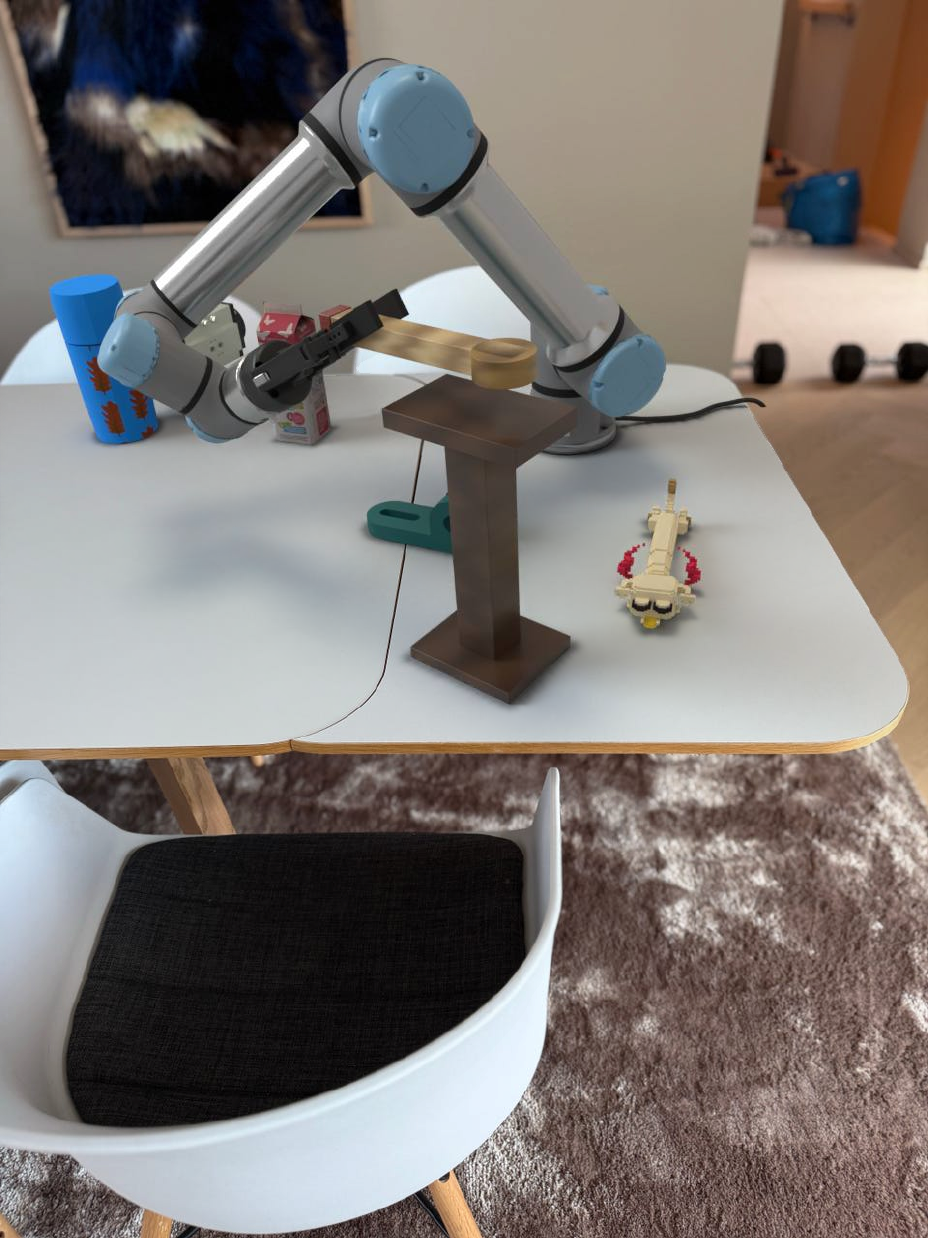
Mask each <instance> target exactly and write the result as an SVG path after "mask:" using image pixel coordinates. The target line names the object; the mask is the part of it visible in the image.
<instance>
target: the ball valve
mask: <svg viewBox="0 0 928 1238" xmlns="http://www.w3.org/2000/svg"><path fill="white" fill-rule="evenodd" d="M246 332H247V327H246V323H245V320H244V318H243V317H242V315H241V313H240V312H239V310H237V309H236V308H234V304H233V302H225V301H223V302H222V303H221V304H220V305H218V306H217V307H216V308H215V309H214V310H213V311H212V312H211V313H210V314H209V315H208V316H207V317H206V318H205V319H204V320H203V321H202V322H201V323H200V324H199V325H198V326H197V327H196V328H195V329H194V330H193V331H192V332H191V333H190V334H189V335H188V336H187V337H186V338H185V339H183V340H182V342H183V343H185V344H186V345H188V346H190V347H191V348H193V349H194V350H196V351H198V352H200V353H201V354H203V355H205V356H207V357H209V358H211V359H212V360H213V361H215V362H217V363H219V364H220V365H222V366H224V367H225V366H227V365H228V364H230V363H231V364H232V363H233V362H235V361H237V360H239V359H240V358H242V357H243V356H245V354H244V350H243V349H246V342H245V337H246V334H247V333H246Z"/></svg>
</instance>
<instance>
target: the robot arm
mask: <svg viewBox="0 0 928 1238" xmlns="http://www.w3.org/2000/svg"><path fill="white" fill-rule="evenodd" d="M490 148H491V147H490V141H489V139H488V137H486V136H485V134H484V132H483V131H482V130H481V129H480V128H479V127H478V125H477V123H475V122H474V117H473V113H472V110H471V109H470V106H469V104H468V102H467V100H466V98H465V97H464V95H463V94H462V92H461V91H460V90H459V89H458V87H457V86H456V85H455V84H454V83H453V82H452V81H451V80H450V79H449V78H448V77H447V76H445V75H444V74H442V73H440V72H439V71H437V70H435V69H432V68H430V67H428V66H425V65H422V64H412V63H407V62H404V61H403V60H399V59H396V58H391V57H373V58H369V59H367V60H365V61H363V62H360V63H358V64H356V65H355V66H354V67H353V68H352V69H350V70H349V71H347V73H345V75H343V76H342V77H341V78H340V80H338V81H337V82H336V84H334V85H333V86H332V87H331V88H330V90H328V92H327V93H326V94H325V95H324V96H323V97H322V98H321V99H320V100H319V101H318V102H317V103H316V104H315V106H314V107H313V108H312V109H310V111H309V112H307V114H305V116H303V117H302V119H300V120H299V122H298V135H297V136H296V137H295V139H293V140H292V142H290V143H289V145H288V146H286V147H285V148H284V149H283V150H282V152H280V153H279V154H278V155H277V156H276V157H275V158H274V159H273V160H272V161H271V162H270V163H269V164H268V165H266V167H265V168H264V169H262V171H260V173H259V174H258V175H257V176H256V177H255V178H254V179H253V180H252V181H251V182H250V183H248V185H247V186H246V187H244V189H243V190H241V191H240V193H238V194H237V195H236V196H235V198H233V199H232V201H230V202H229V203H228V204H227V205H226V206H225V207H224V208H223V209H222V210H221V211H220V212H219V213H218V214H217V215H216V216H215V217H214V218H213V219H212V220H211V221H210V222H209V223H208V224H207V225H206V226H205V227H204V228H203V229H201V231H199V233H198V234H197V235H196V236H195V237H193V239H192V240H190V242H189V243H187V245H186V246H184V247H183V248H182V249H181V251H180V252H178V253H177V254H176V255H175V256H174V257H173V259H171V260H170V261H169V262H168V263H167V264H166V265H165V266H164V267H163V268H162V269H161V270H160V271H159V272H158V273H157V274H156V275H155V276H154V277H153V278H152V280H150V281H149V282H148V283H146V284H145V286H143V287H142V288H141V289H139V290H134V291H130V292H128V293H126V294H125V295H124V297H123V298H122V299H121V300H120V302H119V303H118V305H117V308H116V311H115V315H114V322H113V323H112V325H111V326H110V328H109V330H108V331H107V333H106V335H105V337H104V339H103V342H102V344H101V347H100V350H99V354H98V358H97V362H98V366H99V367H100V369H101V370H102V371H103V372H105V373H106V374H108V375H110V376H111V377H113V378H115V379H116V380H118V381H119V382H120V383H121V384H123V385H124V386H127V387H131V388H133V389H135V390H137V391H139V392H141V393H143V394H145V395H147V396H149V397H151V398H153V400H155V401H156V402H158V403H161V404H162V405H164V406H166V407H168V408H170V409H172V410H174V411H176V412H177V413H180V414H181V415H182V416H184V417H185V420H186V423H187V426H188V427H189V428H190V429H191V430H192V432H193V433H194V434H195V435H196V436H197V437H198V438H199V439H201V440H202V441H205V442H207V443H211V444H223V443H227V442H229V441H233V440H237V439H241V438H242V437H244V436H245V435H246V434H248V433H249V432H251V430H253V429H254V428H256V427H258V426H259V425H262V424H264V423H266V422H268V421H269V422H270V423H271V424H274V423H275V422H277V421H278V419H277V416H276V415H278V414H280V413H282V412H283V411H286V410H288V409H290V408H292V407H294V406H296V405H297V404H299V403H301V402H302V401H304V400H305V399H306V398H307V396H308V395H309V393H310V391H311V388H312V382H313V377H315V376H317V375H318V374H320V373H322V372H324V369H326V368H328V367H329V366H332V365H333V364H335V363H336V362H337V361H339V360H340V359H342V358H343V357H345V356H347V353H349V352H350V351H352V350H354V349H355V348H356V347H355V346H352V345H353V344H355V343H357V342H358V341H360V340H362V339H363V338H365V337H367V336H368V335H370V334H372V333H373V332H375V331H377V330H378V329H380V328H382V327H384V325H383V323H382V321H381V319H380V317H379V315H383V316H387V317H392V318H396V319H401V320H404V319H405V318H406V317H408V316H409V315H410V312H409V311H408V309H407V307H406V306H407V305H406V304H405V302H404V300H403V298H402V296H401V294H400V292H399V290H398V288H393V289H391V290H390V291H388V292H387V293H385V294H384V295H382V296H380V297H379V298H377V299H376V300H373V301H372V299H370V298H369V299H368V300H366V301H364V302H363V303H361V304H359V305H357V306H355V307H353V308H352V309H353V310H352V311H350V312H349V313H347V314H346V315H344V316H342V317H341V318H339V319H338V320H336V321H335V322H333V323H332V324H330V325H329V328H330V330H331V331H329V332H328V330H327V328H326V329H321V328H320V329H319V330H318V331H316V334H315V335H314V336H312V337H311V336H309V337H307V336H306V337H304V338H302V340H301V341H300V342H298V343H296V344H294V345H292V344H291V343H289V342H286V341H283V340H270V341H267V342H265V343H263V344H262V345H260V346H259V345H258V346H257V347H256V348H255V349H253V350H251V351H250V352H248V353H246V354H244V356H242V357H240V358H238V359H236V360H235V361H234V362H232V363H231V364H230V365H229V366H228V367H225V366H222V365H220V364H219V363H217V362H215V361H213V360H212V359H211V358H209V357H207V356H205V355H203V354H201V353H200V352H198V351H196V350H194V349H193V348H191V347H190V346H188V345H186V344H185V343H183V342H182V340H183V339H185V338H186V337H187V336H188V335H189V334H190V333H191V332H192V331H193V330H194V329H195V328H196V327H197V326H198V325H199V324H200V323H201V322H202V321H203V320H204V319H205V318H206V317H207V316H208V315H209V314H210V313H211V312H212V311H213V310H214V309H215V308H216V307H217V306H218V305H220V304H221V303H222V302H225V300H226V299H227V298H228V297H229V296H230V295H232V293H234V291H235V290H237V289H238V288H239V287H240V286H241V285H242V284H243V283H244V282H245V281H246V280H247V279H248V278H249V277H250V276H251V275H252V274H253V273H254V272H255V271H256V270H258V269H259V268H260V267H261V266H262V265H263V264H264V263H265V262H266V261H267V260H268V259H269V258H270V257H271V256H272V255H273V254H275V252H277V250H278V249H280V247H281V246H283V245H284V244H285V243H286V242H287V241H288V240H289V239H290V238H291V237H292V236H293V235H294V234H295V233H296V232H298V230H299V229H300V228H302V227H303V226H304V225H305V224H306V223H307V222H308V221H309V220H310V219H311V218H312V217H313V216H314V215H315V214H316V213H317V212H318V211H319V210H321V208H322V207H323V206H324V205H326V203H328V202H329V201H330V200H331V199H332V198H333V197H334V196H335V195H336V194H337V193H339V191H341V190H343V189H344V190H354V189H356V187H357V186H358V185H359V184H360V183H362V181H364V180H365V179H366V178H368V177H369V176H370V175H372V174H374V173H375V174H377V176H379V178H381V179H382V181H383V182H384V183H385V184H386V185H387V186H388V187H389V188H390V189H391V190H392V191H393V192H394V194H395V195H396V196H397V197H398V198H399V199H400V200H401V201H402V202H403V203H404V204H405V205H406V207H407V208H408V209H409V210H410V211H411V212H412V213H413V214H414V215H415V216H416V217H417V218H420V219H430V218H435V219H436V220H437V221H438V223H440V224H441V225H442V226H443V227H444V229H445V230H446V231H447V232H448V233H449V234H450V235H451V237H453V239H455V241H456V242H457V243H458V245H460V246H461V247H462V248H463V250H464V251H465V252H466V253H467V254H468V255H469V256H470V257H471V259H472V260H473V261H474V262H475V263H476V264H477V266H479V267H480V269H482V271H483V272H484V273H485V274H486V275H487V277H489V279H491V280H492V282H493V283H494V285H496V286H497V287H498V288H499V289H500V290H501V292H502V293H503V294H504V295H505V296H506V297H507V298H508V300H510V302H511V303H512V304H513V305H514V306H515V307H516V309H518V310H519V312H520V313H521V314H522V315H523V316H524V317H525V318H526V319H527V321H528V322H529V325H530V329H529V330H530V331H529V332H530V333H529V334H530V342H532V343H534V344H535V345H536V346H537V368H538V376H537V378H536V380H535V381H534V382H532V383H531V387H530V388H531V389H530V393H529V395H531V396H535V397H539V398H543V399H546V400H550V401H554V402H558V403H562V404H566V405H570V406H574V407H577V408H578V418H577V427H576V428H575V429H573V430H572V431H571V432H569V433H568V434H566V435H565V436H563V437H562V438H560V439H559V440H557V441H556V442H555V443H553V444H552V445H550V446H549V447H547V448H546V449H544V450H543V451H542V452H545V453H549V454H557V455H575V454H576V455H577V454H584V453H589V452H593V451H597V450H599V449H602V448H604V447H606V446H607V445H609V444H610V443H611V442H612V441H613V440H614V439H615V437H616V433H617V432H616V430H617V421H619V422H621V421H623V422H625V421H626V422H627V421H628V422H666V421H668V422H669V421H677V420H684V419H691V418H695V417H698V416H701V415H704V414H706V413H709V412H710V411H713V410H715V409H716V410H717V409H719V408H723V407H730V406H733V405H738V404H743V403H751V404H755V405H757V406H759V408H767V405H766V404H765V403H764V402H763V401H761V400H760V399H758V398H755V397H740V398H735V399H731V400H725V401H721V402H717V403H713V404H710V405H707V406H706V407H703V408H701V409H699V410H695V411H692V412H687V413H680V414H673V415H671V414H670V415H652V416H649V415H648V416H638V415H633V414H635V413H637V412H639V411H641V410H642V409H644V408H645V407H646V406H647V405H648V404H649V403H650V402H651V401H652V400H653V399H654V398H655V396H656V395H657V394H658V392H659V390H660V389H661V387H662V384H663V382H664V376H665V373H666V371H667V358H666V354H665V352H664V348H663V347H662V346H661V345H660V344H659V343H658V342H657V340H656V338H654V337H653V336H651V335H650V334H646V333H644V332H643V331H642V330H641V329H640V328H639V327H638V326H637V325H636V324H635V322H634V321H633V320H632V318H631V317H630V316H629V315H628V313H627V312H626V311H625V310H624V308H622V306H621V305H620V304H619V303H618V301H617V300H616V299H615V298H614V297H613V296H611V295H610V293H609V291H608V289H607V288H606V287H604V286H601V285H595V284H588V283H587V282H586V281H585V279H584V278H583V277H582V276H581V275H580V273H579V272H578V271H577V269H576V268H575V266H573V265H572V264H571V262H570V261H569V260H568V258H566V256H565V255H564V253H563V252H562V251H561V250H560V248H559V247H558V246H557V245H556V244H555V243H554V241H553V240H552V239H551V237H550V236H549V235H548V234H547V233H546V231H545V230H544V229H543V228H542V227H541V225H540V224H539V222H537V220H536V218H534V217H533V215H532V214H531V213H530V212H529V210H528V209H527V208H526V207H525V205H524V204H523V203H522V202H521V200H519V198H518V197H517V196H516V194H515V193H514V192H513V191H512V190H511V188H510V187H509V186H508V185H507V183H506V182H505V181H504V180H503V178H502V177H501V176H500V175H499V173H498V172H497V171H496V170H495V169H494V167H493V166H492V165H491V163H490V162H489V159H490V158H489V157H490Z"/></svg>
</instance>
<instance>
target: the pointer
mask: <svg viewBox="0 0 928 1238" xmlns="http://www.w3.org/2000/svg"><path fill="white" fill-rule="evenodd" d="M352 310H353V308H352V306H348V305H344V304H338V305H336V306H334V307H331V308H329V309H326V310H324V311H322V312H319V313H318V319H319V320H318V321H319V327H320V330H321V329H326V328H327V330H328V332H329V331H331V330H330V328H329V325H330V324H332V323H333V322H335V321H336V320H338V319H339V318H341V317H342V316H344V315H346V314H347V313H349V312H350V311H352ZM379 317H380V319H381V321H382V323H383V325H384V327H382V328H380V329H378V330H377V331H375V332H373V333H372V334H370V335H368V336H367V337H365V338H363V339H362V340H360V341H358V342H357V343H355V344H353V345H352V346H355V348H359V349H362V350H363V349H364V350H367V351H371V352H375V353H379V354H383V355H387V356H391V357H394V358H399V359H402V360H407V361H410V362H414V363H419V364H422V365H427V366H430V367H434V368H439V369H443V370H445V371H446V370H447V371H449V372H454V373H457V374H463V375H466V376H470V377H471V380H472V381H473V382H474V383H475V384H476V385H478V386H480V387H483V388H488V389H495V390H507V389H508V390H514V389H520V388H523V387H526V386H529V385H531V384H532V382H534V381H535V380H536V378H537V376H538V368H537V346H536V345H535V344H534V343H532V342H531V340H527V339H524V338H520V337H519V338H518V337H497V338H485V337H481V336H477V335H473V334H467V333H463V332H459V331H454V330H449V329H445V328H441V327H436V326H432V325H428V324H422V323H418V322H414V321H409V320H406V319H405V320H404V319H396V318H392V317H387V316H383V315H379Z"/></svg>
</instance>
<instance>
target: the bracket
mask: <svg viewBox="0 0 928 1238" xmlns="http://www.w3.org/2000/svg"><path fill="white" fill-rule="evenodd" d="M366 521H367V529H368V532H369V534H370V536H372V537H374V538H376V539H379V540H382V541H383V540H384V541H389V542H394V543H399V544H402V545H409V546H414V547H418V548H424V549H428V550H433V551H438V552H443V553H448V554H452V555H453V552H452V539H451V526H450V514H449V501H448V491H447V492H446V493H445V495H444V496H443V497H441V498H440V500H439V501H438V502H437V503H436V504H435V505H434V506H430V505H423V504H419V503H413V502H408V501H403V500H386V501H383V502H379V503H377V504H374V505H373V506H370V508H369V509H368V510H367V512H366Z"/></svg>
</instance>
